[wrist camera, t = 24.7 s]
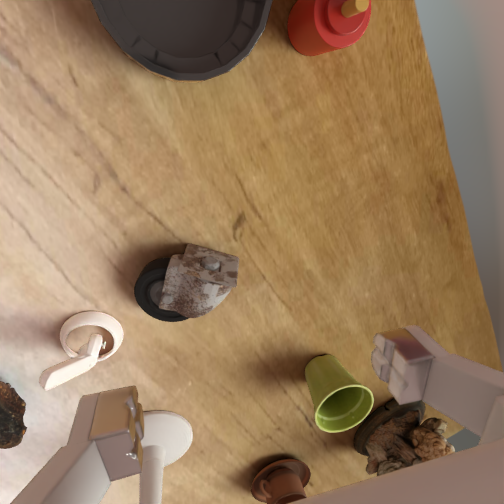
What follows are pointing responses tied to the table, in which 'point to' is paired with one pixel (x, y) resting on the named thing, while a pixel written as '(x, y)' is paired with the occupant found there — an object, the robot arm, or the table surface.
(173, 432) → the candlestick
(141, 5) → the bowl
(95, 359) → the hook
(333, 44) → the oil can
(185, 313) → the caster wheel
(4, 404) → the fossil rock
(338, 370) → the plant pot
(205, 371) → the table surface
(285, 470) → the cup and saucer
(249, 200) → the table surface
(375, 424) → the owl figurine
